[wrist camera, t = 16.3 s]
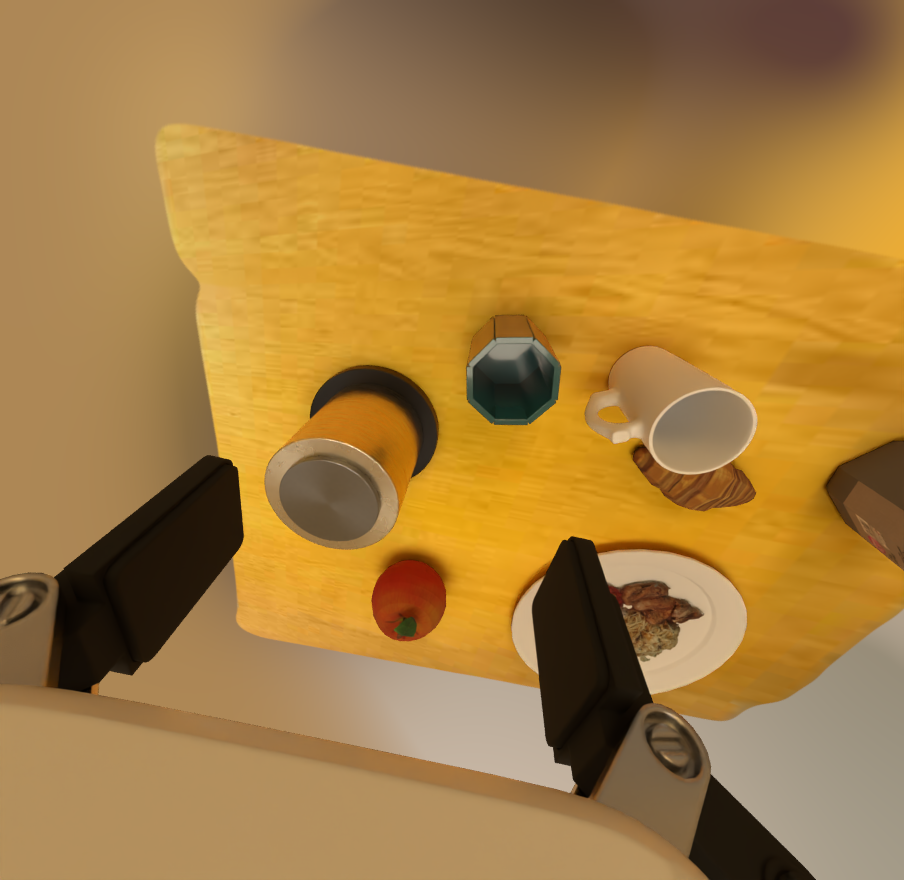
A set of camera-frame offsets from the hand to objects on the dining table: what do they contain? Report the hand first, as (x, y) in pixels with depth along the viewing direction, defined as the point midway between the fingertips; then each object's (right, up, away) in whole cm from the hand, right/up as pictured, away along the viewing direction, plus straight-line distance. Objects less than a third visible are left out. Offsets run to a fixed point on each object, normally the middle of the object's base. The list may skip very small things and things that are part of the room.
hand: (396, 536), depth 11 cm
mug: (+18, +9, +26) cm, 33 cm away
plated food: (+25, -23, +42) cm, 54 cm away
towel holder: (-7, +4, +31) cm, 32 cm away
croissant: (+27, 0, +30) cm, 40 cm away
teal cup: (+7, +11, +26) cm, 29 cm away
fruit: (-4, -16, +42) cm, 44 cm away
